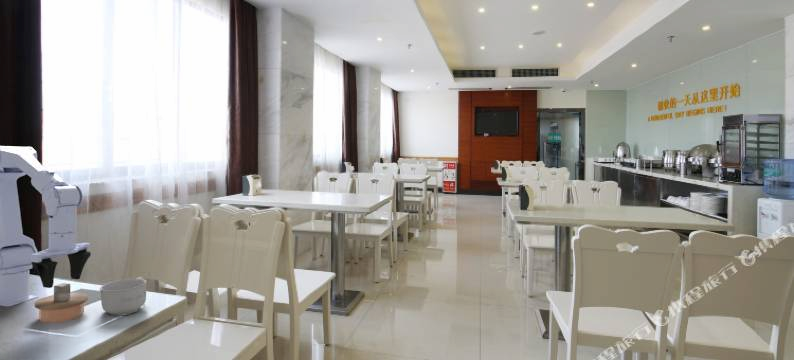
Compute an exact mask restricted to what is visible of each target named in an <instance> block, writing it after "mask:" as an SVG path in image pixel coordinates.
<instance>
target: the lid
mask: <svg viewBox="0 0 794 360" xmlns="http://www.w3.org/2000/svg"><path fill="white" fill-rule="evenodd" d="M70 292H71V283H65V282H64V283H63V282H61V283H58V284H55V285H53V294H52V295H47V296H45V297H42V298H39V299H37V300H36V301H35V302H34V308H35V309H37V310H39V309H43V310H54V309H63V308H69V307H73V306H77V305H80V304H82V303H84V302H86V301H87V300H88V295H86V294H83V293H70Z"/></svg>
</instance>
